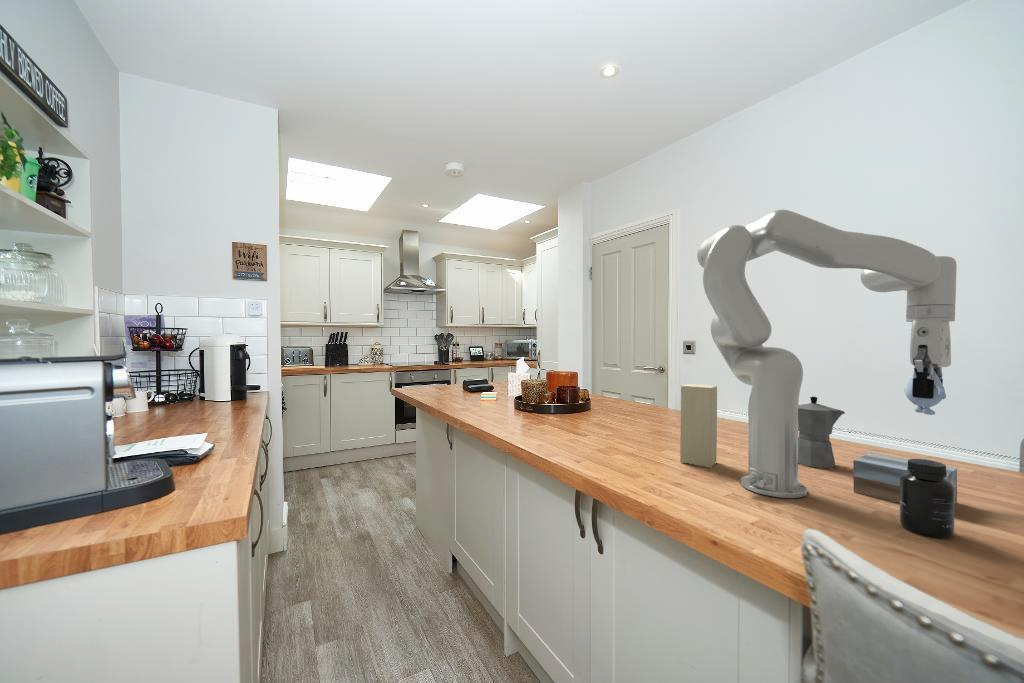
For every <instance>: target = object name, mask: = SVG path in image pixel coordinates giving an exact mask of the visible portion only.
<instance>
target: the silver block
mask: <svg viewBox="0 0 1024 683" xmlns="http://www.w3.org/2000/svg"><path fill="white" fill-rule="evenodd" d="M908 460H909V459H906V458H900V457H895V456H894V457H893V456H890V455H889V456H888V455H883V454H878V453H872V452H869V453H867V454H864V455H862V456H859V457H858V458H855V459H853V493H855V492H856V494H860V495H863V496H867V497H872V498H875V497H876V499H880V500H885V501H887V502H893V503H895V504H900V478H901V477H902V476H903V475H904V474H907V473H909V471H908V470H907V467H908ZM946 473H947V476H946V477H945V479H946V480H948V481H949V482H950V483H951V484H952V485H953V486H954V489H955V505H957V503H958V467H953V466H952V467H951V466H946Z"/></svg>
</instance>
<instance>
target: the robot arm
mask: <svg viewBox="0 0 1024 683" xmlns="http://www.w3.org/2000/svg"><path fill="white" fill-rule="evenodd" d="M776 251H777V252H779V253H782V254H785V255H787V256H790V257H792V258H795V259H797V260H800V261H803V262H805V263H807V264H810V265H813V266H815V267H818V268H826V269H859V270H862V272H861V274H860V281H861V283H862V285H863V287H864V288H866V289H868V290H870V291H872V292H874V293H875V292H876V293H891V292H898V291H899V292H900V291H904V292H905V291H906V312H905V313H906V316H905V318H906V319H905V322H908V323H911V327H910V328H911V329H910V343H909V344H910V345H909V347H910V348H909V360H910V361H909V363H910V365H912V366H914V368H913V372H914V373H913V372H912V374H913V387H912V396H913V397H917V398H927V399H932V398H933V397H934V380H932V376H933V370H934V371H935V372H936V374H937V375H938V377H939V379H940V380H941V383H942V385H943V384H944V383H943V382H944V379H943V368H948V367H950V366H951V364H952V354H951V353H952V349H951V348H952V347H951V346H952V345H951V329H950V328H951V326H950V322H955V321H956V298H957V294H956V293H957V269H958V268H957V260H956V259H955V258H954V257H952V256H947V255H946V256H943V255H939V256H937V255H935V254H934V253H932V252H931V251H929V250H927V249H925V248H923V247H921V246H919V245H917V244H913V243H911V242H908V241H905V240H902V239H900V238H899V239H898V238H895V237H892V236H891V237H890V236H883V235H878V234H869V233H863V232H857V231H855V232H854V231H847V230H842V229H839V228H836V227H834V226H831V225H829V224H825V223H823V222H821V221H817V220H815V219H813V218H810V217H807V216H805V215H803V214H800V213H797V212H796V211H795V212H794V211H792V210H789V209H777V210H774V211H771V212H769V213H767V214H764V215H763V216H761V217H760V218H758V219H757V220H755V221H753V222H751V223H749V224H746V225H745V226H744V225H740V224H739V225H738V224H735V225H729V226H727V227H723V228H722V229H721V230H719V231H717V232H715V234H713V235H711V236H710V237H708V238H706V239H705V240H703V242H702V243H701V244H700V245H699V246H698V250H697V253H696V258H697V262H698V264H699V266H701V267H702V268H703V274H702V285H703V289H704V294H705V295H706V298H707V300H708V301H709V303H710V305H711V308H712V309H713V311H714V313H715V316H714V317H713V318H712V321H711V324H710V335H711V337H712V340H713V342H714V344H715V346H716V347H717V349H718V351H719V353H720V354H721V356H722V357H723V359H724V361H725V363H726V364H727V366H728V367H729V369H730V371H731V372H732V374H733V375H734V376H735V378H736V379H738V381H740V382H741V383H743V384H745V385H748V386H750V387H752V388H751V390H750V395H749V399H748V408H747V416H748V417H747V418H748V419H747V421H748V423H747V424H748V425H747V426H748V427H747V429H748V432H747V433H748V435H747V437H748V438H747V439H748V440H747V441H748V442H747V444H748V450H747V451H748V454H747V455H748V467H747V468H748V474H746V475H744V476H742V477H741V478H740V484H741V486H742V487H743V488H744V489H747V490H749V491H751V492H754V493H756V494H760V495H763V496H764V495H765V496H768V497H775V498H781V499H797V498H798V499H799V498H802V497H803V498H804V497H805V496H807V494H808V488H807V486H806V485H804V484H803V483H802V482H799V464H798V438H799V431H798V405H799V401H800V400H799V398H800V392H801V387H802V383H803V378H804V376H803V375H804V369H803V365H802V363H801V360H800V359H799V357H798V356H797V355H795V353H793V352H791V351H790V350H788V349H785V348H781V347H773V346H771V347H769V346H764V345H763V344H765V343H766V342H767V341H768V340H769V339H770V337H771V334H772V324H771V322H770V320H769V318H768V316H767V315H766V312H765V311H764V310H763V309H762V306H761V304H760V303H759V302H758V300H757V298H756V296H755V295H754V293H753V292H752V289H751V288H750V286H749V284H748V282H747V279H746V264H747V262H750V261H752V260H755V259H757V258H760V257H763V256H764V255H765V256H766V255H767V254H770V253H773V252H776ZM943 386H944V385H943Z"/></svg>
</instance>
